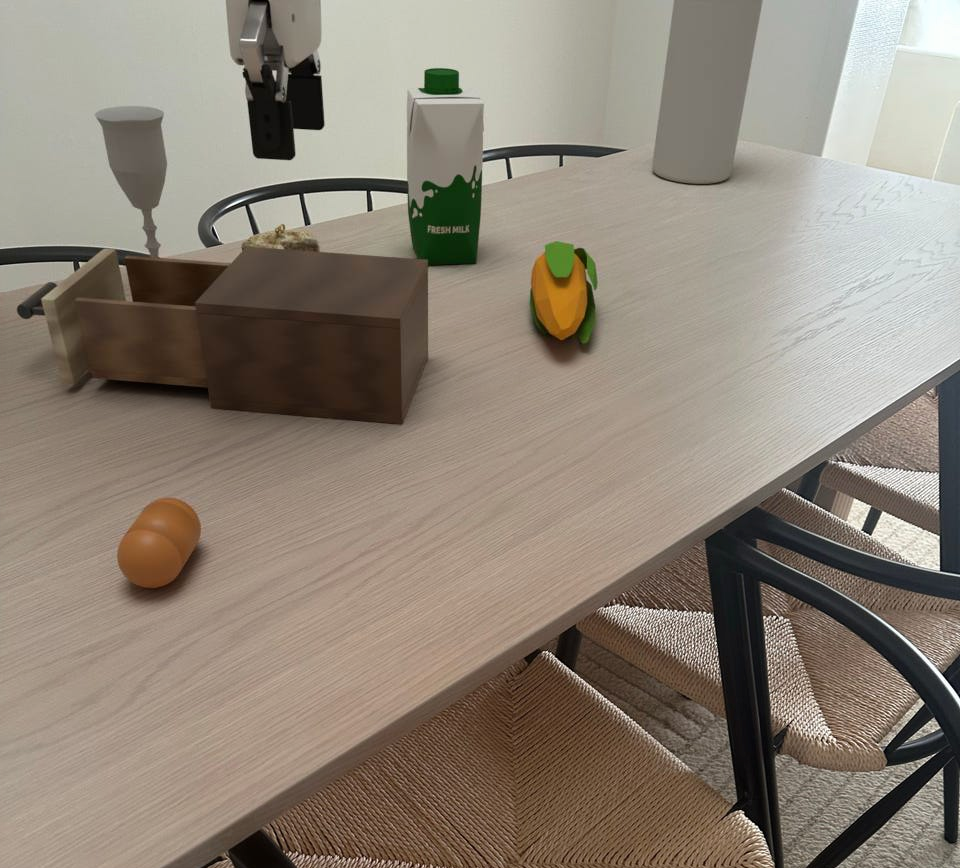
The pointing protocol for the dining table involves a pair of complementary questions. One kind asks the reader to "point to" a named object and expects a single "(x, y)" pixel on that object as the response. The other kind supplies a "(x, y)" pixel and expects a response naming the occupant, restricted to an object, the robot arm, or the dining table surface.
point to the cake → (284, 240)
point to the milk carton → (444, 168)
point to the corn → (563, 291)
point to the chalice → (137, 159)
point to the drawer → (127, 319)
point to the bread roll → (159, 543)
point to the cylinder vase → (704, 88)
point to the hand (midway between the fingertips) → (290, 142)
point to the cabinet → (316, 334)
